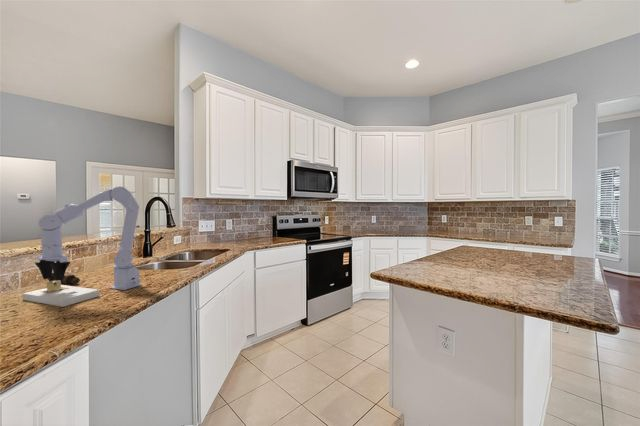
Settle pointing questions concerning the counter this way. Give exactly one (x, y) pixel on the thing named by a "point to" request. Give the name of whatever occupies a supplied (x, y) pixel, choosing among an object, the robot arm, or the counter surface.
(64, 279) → the bolt
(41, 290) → the fitting plate
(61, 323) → the counter surface
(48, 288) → the brass cylinder
